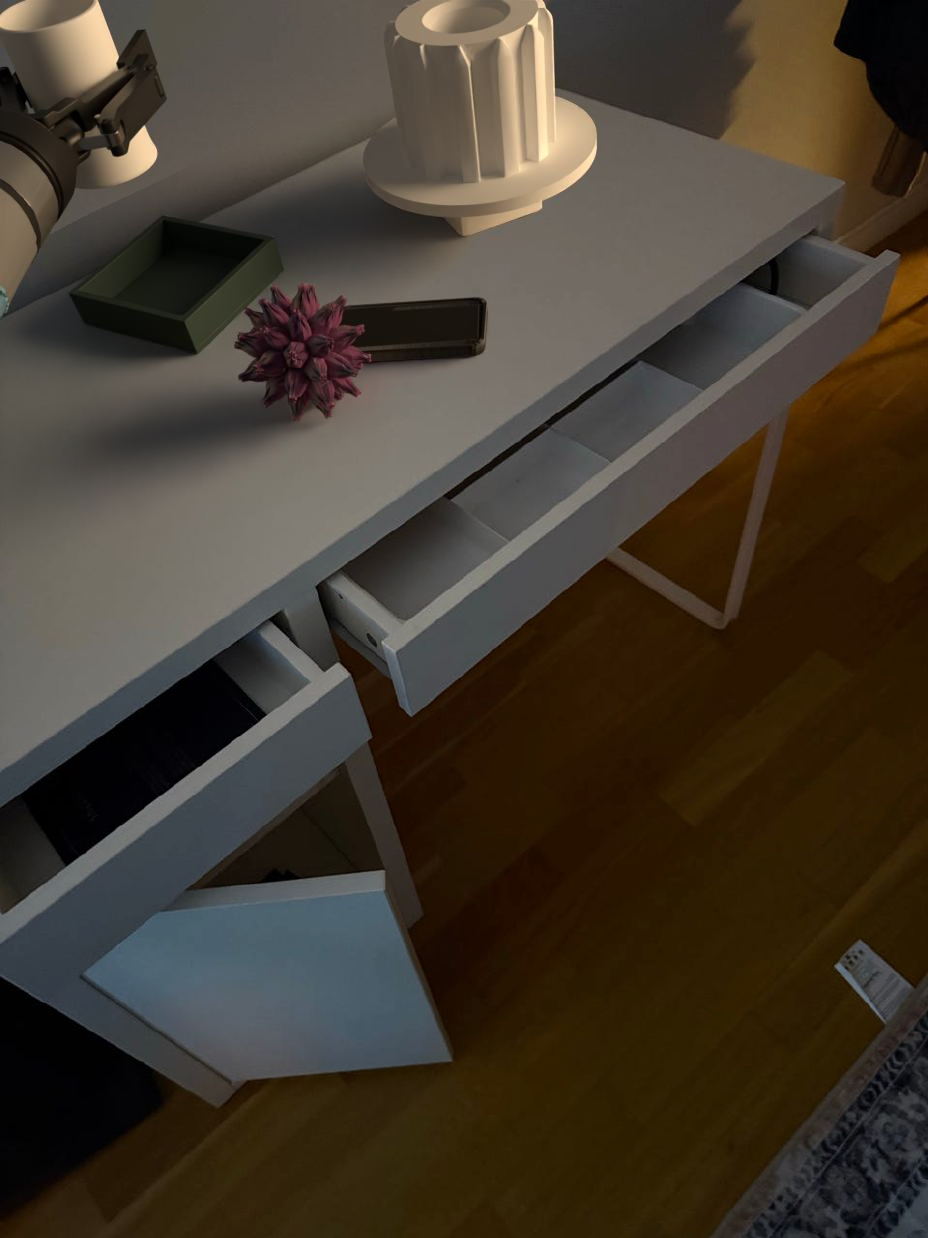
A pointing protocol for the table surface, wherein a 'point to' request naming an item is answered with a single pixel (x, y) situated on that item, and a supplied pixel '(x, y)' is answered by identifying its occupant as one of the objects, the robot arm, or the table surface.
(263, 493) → the table surface
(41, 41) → the mug
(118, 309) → the bin
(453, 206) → the flanged gear
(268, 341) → the flower
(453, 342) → the phone
